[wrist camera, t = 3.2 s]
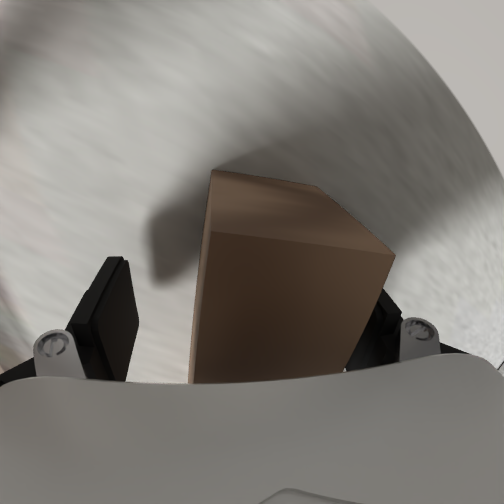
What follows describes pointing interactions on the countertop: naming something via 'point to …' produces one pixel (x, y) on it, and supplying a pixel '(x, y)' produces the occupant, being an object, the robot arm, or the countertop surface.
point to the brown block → (280, 282)
